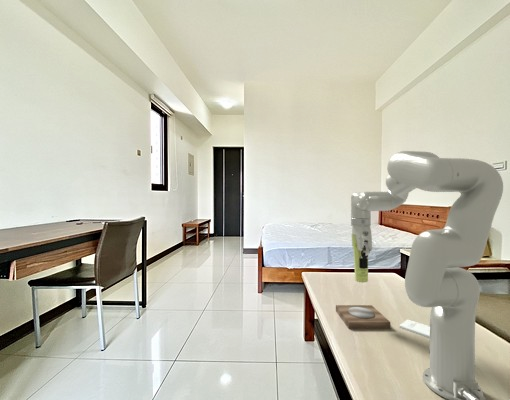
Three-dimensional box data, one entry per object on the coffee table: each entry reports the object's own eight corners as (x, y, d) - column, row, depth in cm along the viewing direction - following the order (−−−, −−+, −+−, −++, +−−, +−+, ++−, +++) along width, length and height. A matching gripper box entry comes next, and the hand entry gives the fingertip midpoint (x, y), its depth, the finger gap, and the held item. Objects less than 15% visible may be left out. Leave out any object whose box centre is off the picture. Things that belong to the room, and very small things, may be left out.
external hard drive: (437, 342, 91) (399, 329, 101) (444, 334, 96) (407, 322, 106) (437, 338, 91) (399, 324, 101) (444, 330, 96) (407, 318, 106)
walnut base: (390, 328, 100) (390, 320, 100) (348, 328, 100) (348, 320, 100) (371, 310, 116) (371, 304, 116) (335, 310, 116) (335, 304, 116)
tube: (362, 284, 104) (362, 235, 104) (351, 280, 108) (351, 234, 108) (370, 281, 107) (370, 234, 107) (359, 278, 111) (358, 232, 111)
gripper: (379, 224, 99) (379, 272, 99) (361, 220, 116) (361, 261, 116) (359, 224, 99) (360, 272, 99) (344, 220, 116) (344, 261, 116)
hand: (360, 265), depth 108 cm, fingers closed on tube, 4 cm apart
